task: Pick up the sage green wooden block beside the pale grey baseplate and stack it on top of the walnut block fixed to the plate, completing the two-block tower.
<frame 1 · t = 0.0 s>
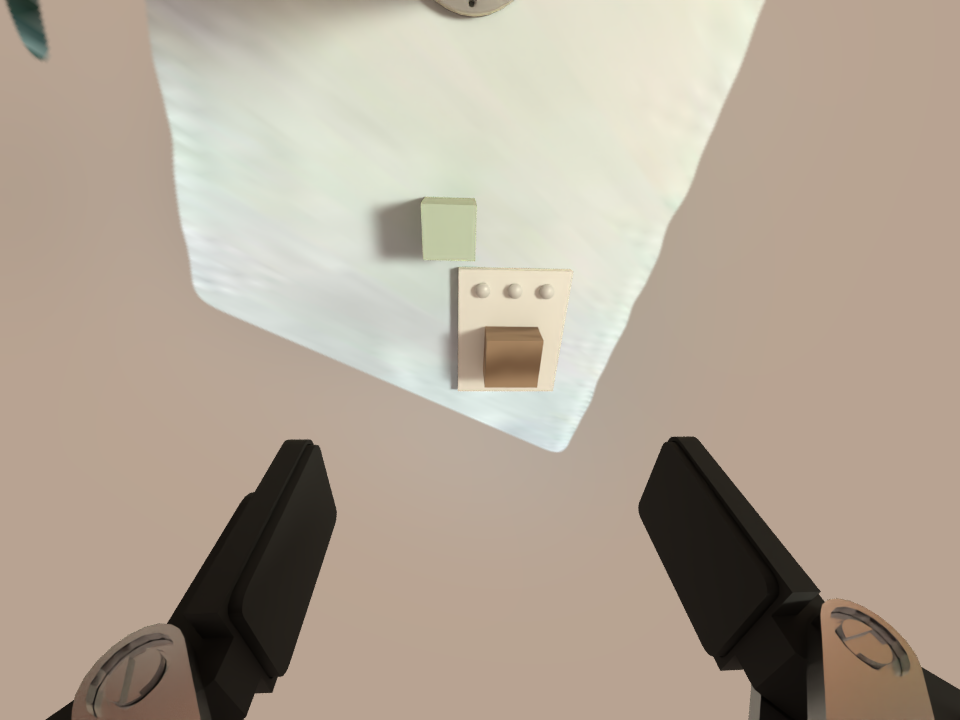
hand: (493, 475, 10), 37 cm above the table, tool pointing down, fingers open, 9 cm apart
sage block: (450, 223, 41), on the table
walnut block: (509, 349, 49), resting on snap baseplate
snap baseplate: (509, 333, 49), on the table
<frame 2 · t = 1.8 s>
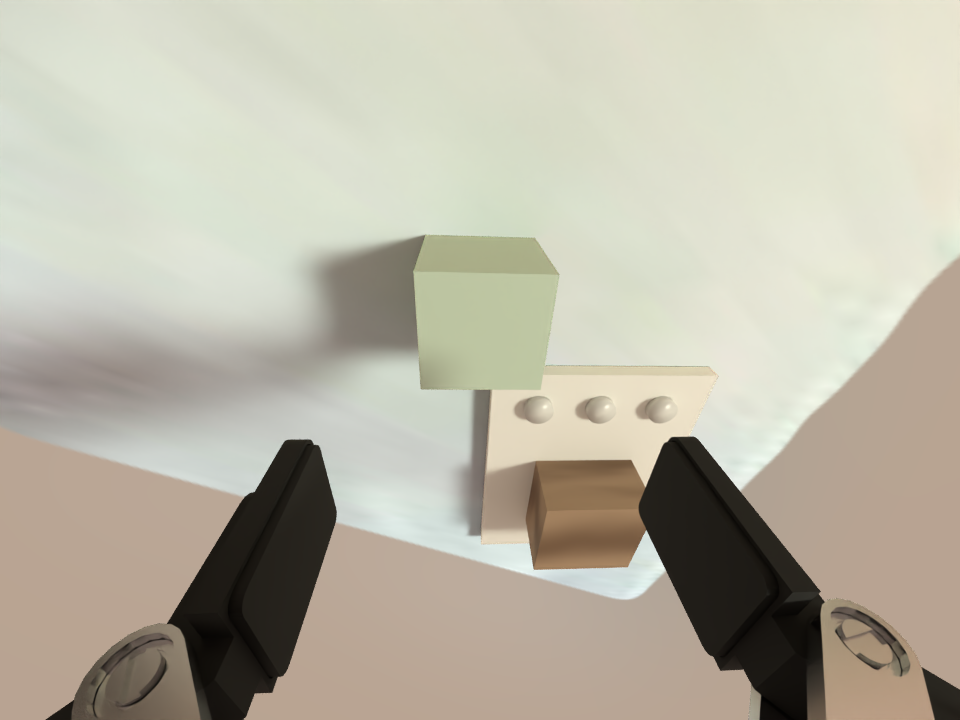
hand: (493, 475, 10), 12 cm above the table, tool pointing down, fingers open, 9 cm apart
sage block: (478, 287, 20), on the table
walnut block: (575, 491, 28), resting on snap baseplate
snap baseplate: (576, 463, 28), on the table
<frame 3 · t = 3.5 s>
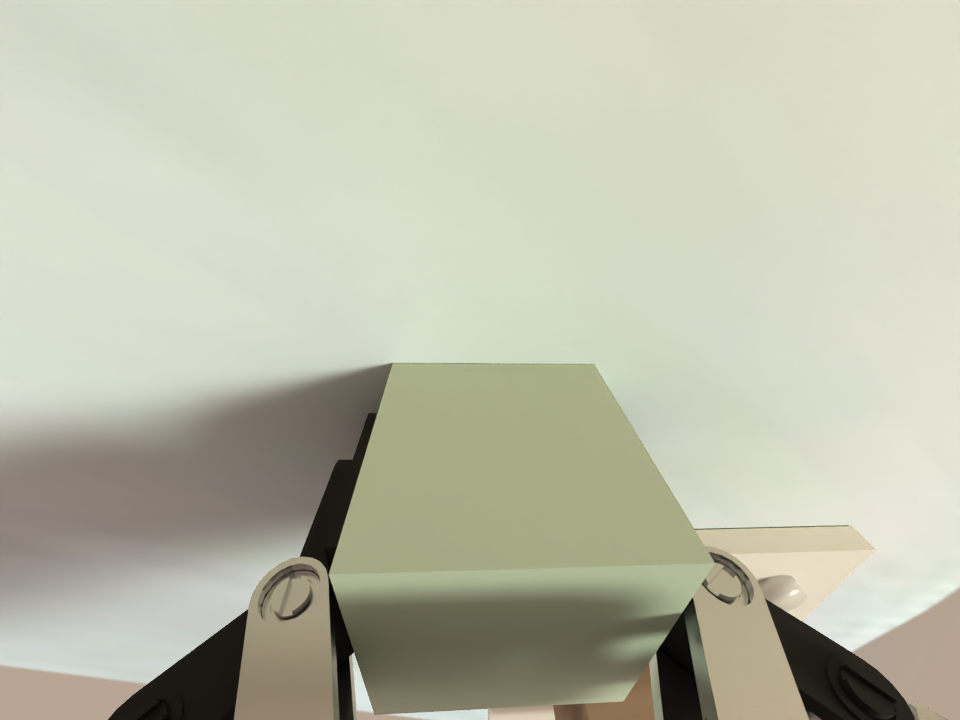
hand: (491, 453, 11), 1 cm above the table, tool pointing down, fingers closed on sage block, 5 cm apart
sage block: (489, 438, 11), on the table, touching gripper
walnut block: (626, 674, 19), resting on snap baseplate
snap baseplate: (628, 634, 19), on the table
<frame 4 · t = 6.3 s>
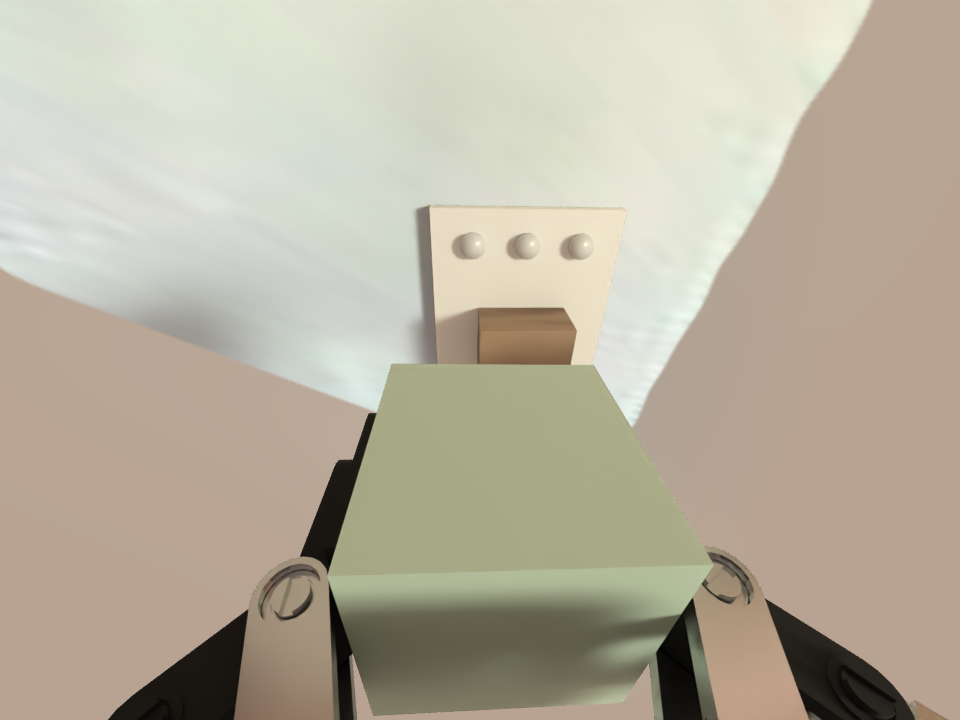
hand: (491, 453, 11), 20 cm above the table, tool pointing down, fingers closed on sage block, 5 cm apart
sage block: (489, 439, 11), point 20 cm above the table, touching gripper
walnut block: (517, 344, 31), resting on snap baseplate
snap baseplate: (517, 318, 31), on the table
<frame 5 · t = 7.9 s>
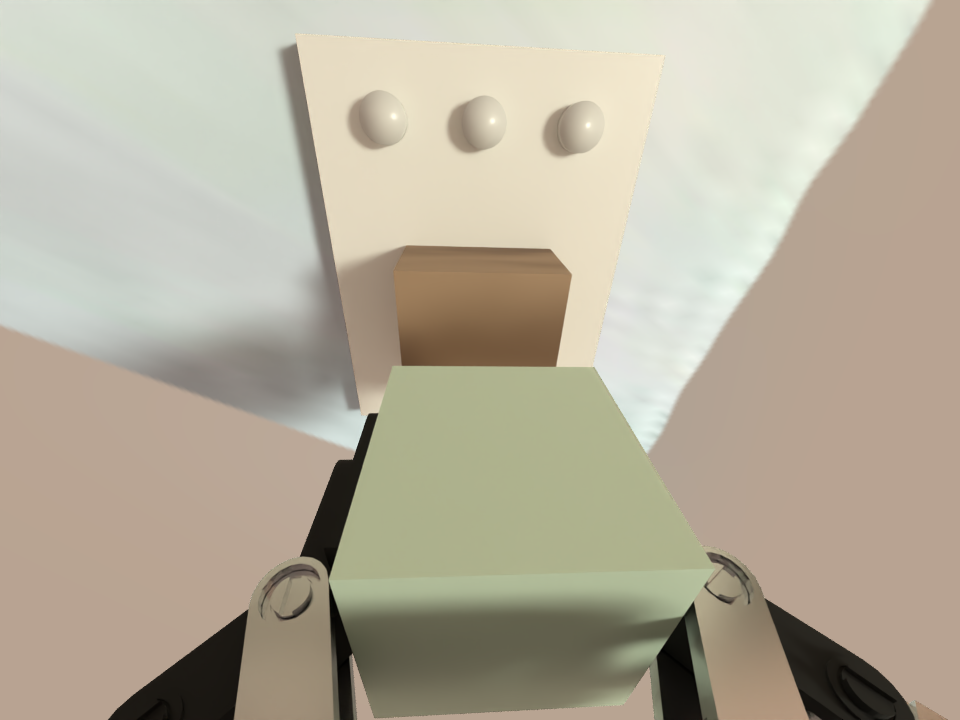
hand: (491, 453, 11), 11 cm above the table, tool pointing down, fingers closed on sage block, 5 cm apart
sage block: (489, 441, 11), point 11 cm above the table, touching gripper
walnut block: (476, 313, 19), resting on snap baseplate
snap baseplate: (477, 271, 19), on the table
when the fingers open (7 cm above the table, at t = 9.1 s): sage block drops 1 cm, resting on walnut block.
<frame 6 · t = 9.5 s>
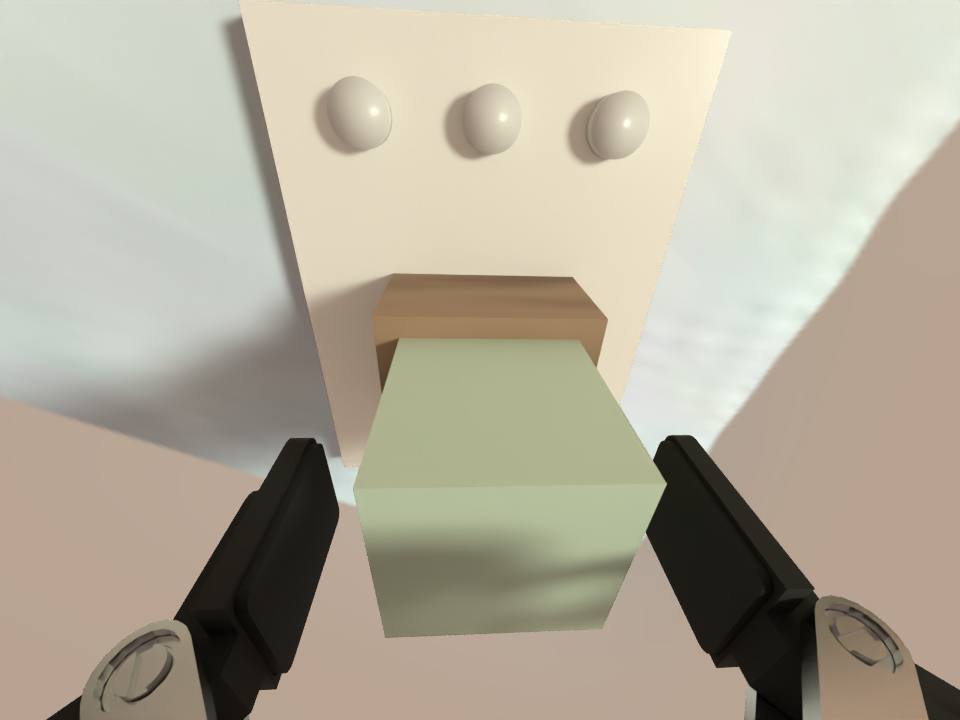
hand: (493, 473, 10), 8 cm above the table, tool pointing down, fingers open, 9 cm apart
sage block: (486, 409, 12), point 5 cm above the table, touching walnut block
walnut block: (480, 352, 16), resting on snap baseplate
snap baseplate: (481, 301, 16), on the table
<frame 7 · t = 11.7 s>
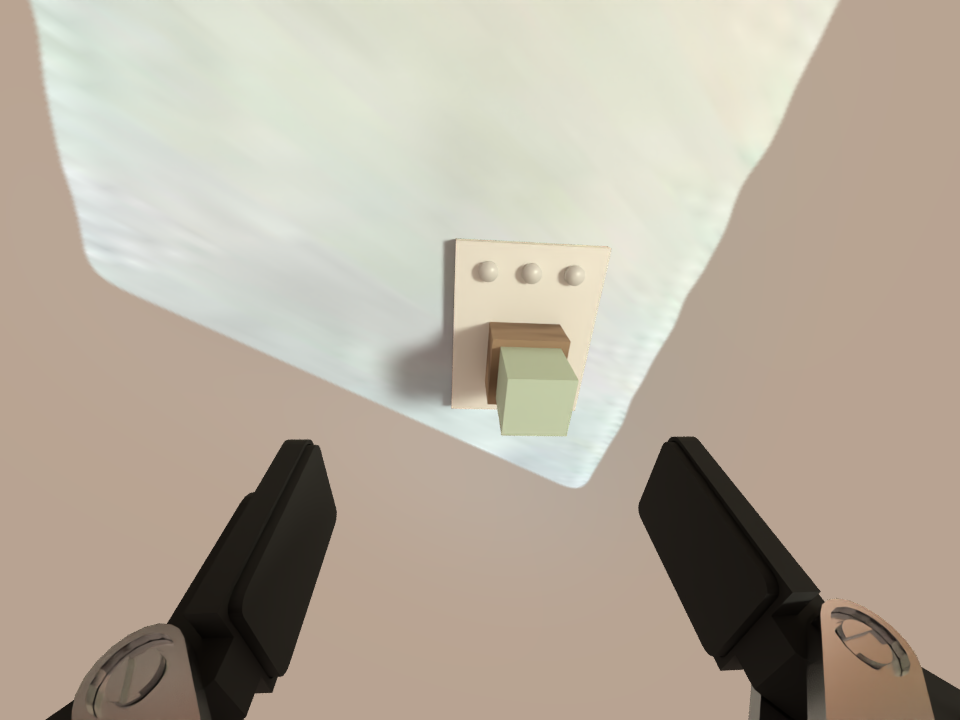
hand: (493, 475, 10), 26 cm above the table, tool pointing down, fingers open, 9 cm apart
sage block: (527, 373, 34), point 5 cm above the table, touching walnut block
walnut block: (520, 354, 37), resting on snap baseplate
snap baseplate: (521, 332, 37), on the table
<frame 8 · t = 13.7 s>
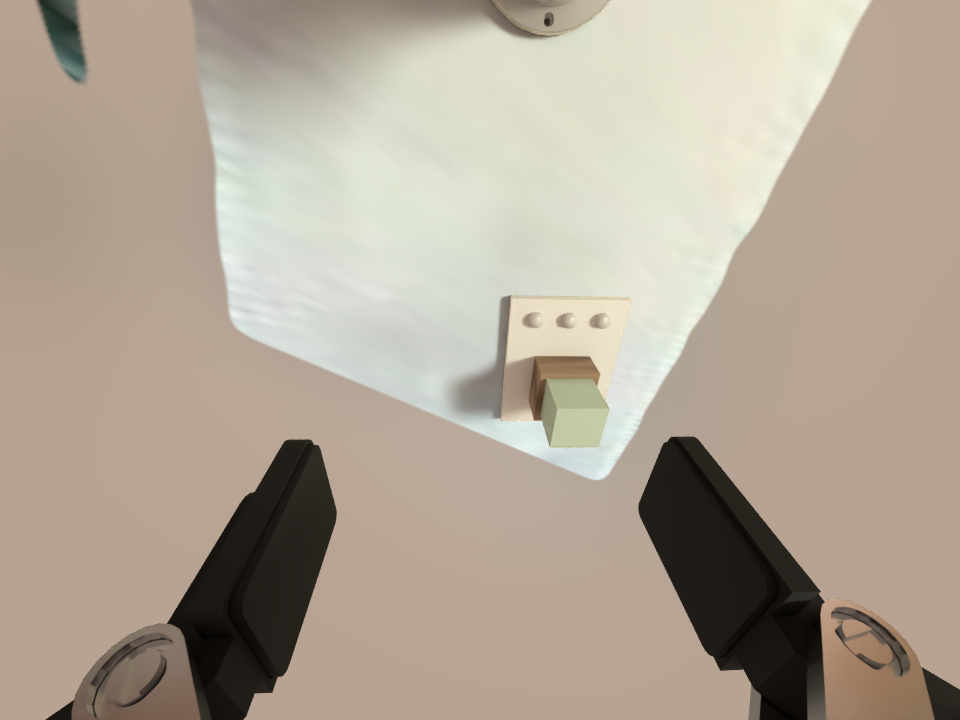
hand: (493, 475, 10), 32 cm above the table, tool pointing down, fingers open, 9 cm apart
sage block: (565, 397, 43), point 5 cm above the table, touching walnut block
walnut block: (558, 379, 47), resting on snap baseplate
snap baseplate: (558, 362, 47), on the table
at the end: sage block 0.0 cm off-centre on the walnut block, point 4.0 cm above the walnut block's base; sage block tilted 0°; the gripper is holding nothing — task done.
